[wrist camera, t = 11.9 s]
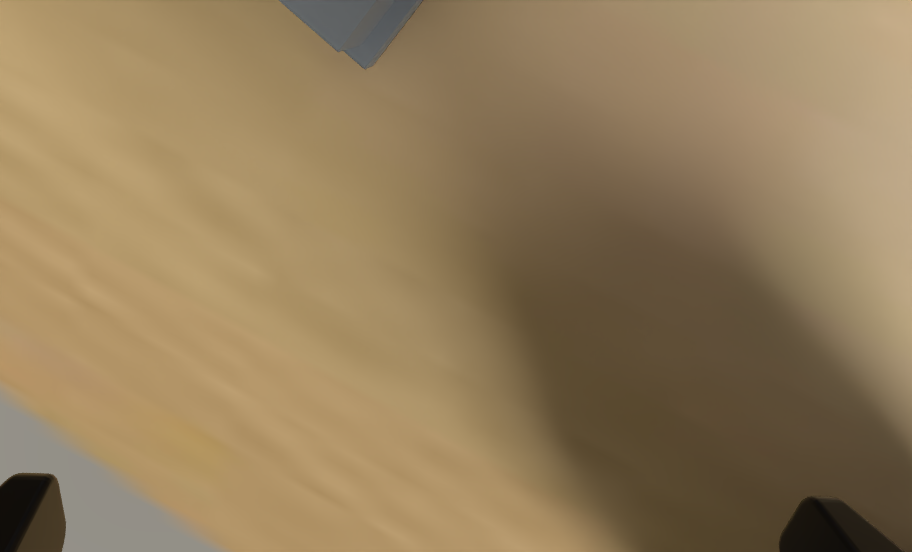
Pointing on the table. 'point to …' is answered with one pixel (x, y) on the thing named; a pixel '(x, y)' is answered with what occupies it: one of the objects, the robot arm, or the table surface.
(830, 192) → the table surface
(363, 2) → the holder
